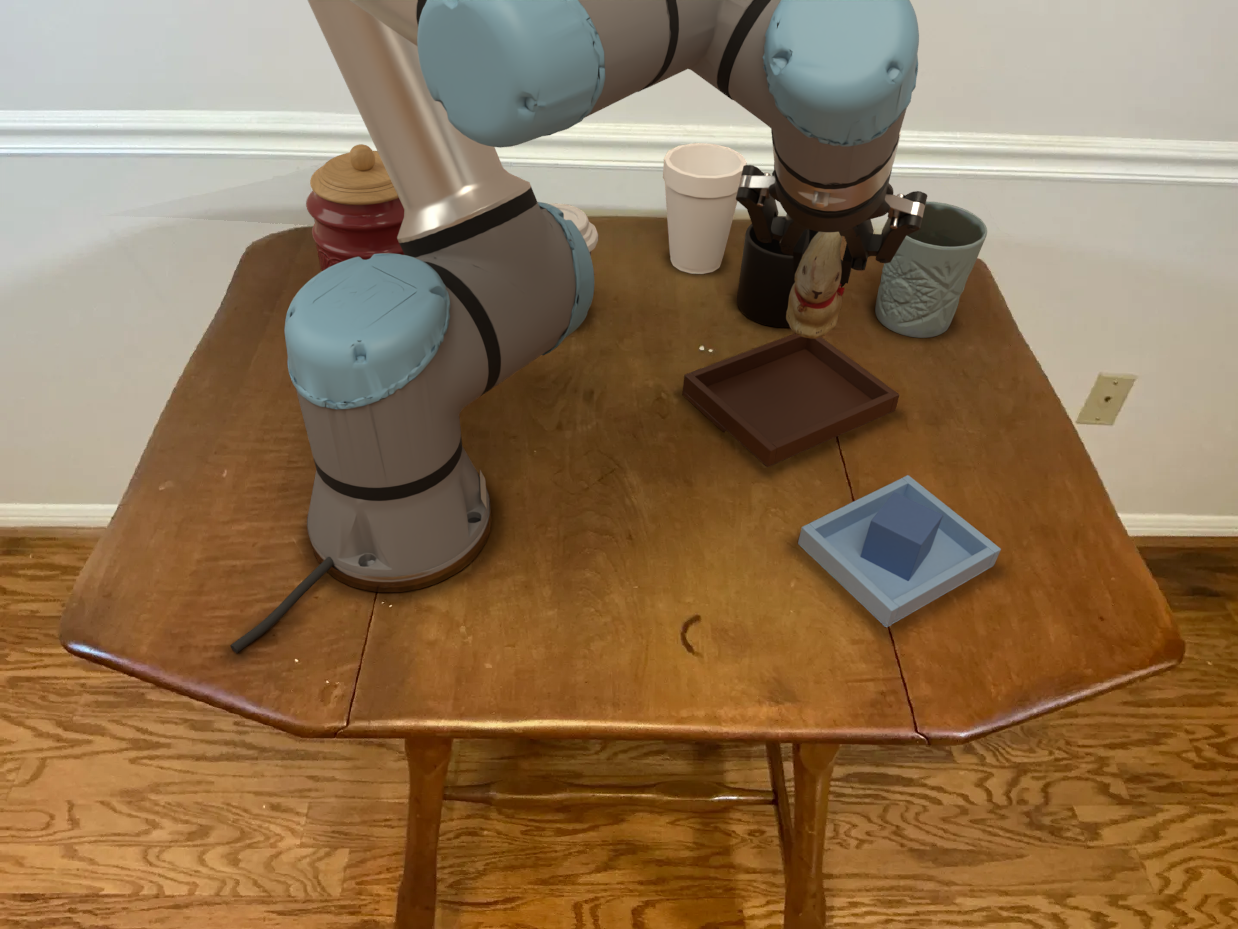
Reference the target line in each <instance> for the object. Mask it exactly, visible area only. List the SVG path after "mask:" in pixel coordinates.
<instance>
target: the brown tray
mask: <svg viewBox="0 0 1238 929" xmlns="http://www.w3.org/2000/svg"><path fill="white" fill-rule="evenodd" d="M681 395H682V396H683V397H684V398H685V399H686V400H687V401H688V402H690V404H691V405H693V406H694V407H695V408H696V409H697V410H698V411H699V412H701V414H703V415H704V417H706V418H707V419H708V420H709V421H710V422H711V423H713V425H715V426H716V427H717V428H718V429H719V430H721V432H723V433H726V432H728V433H729V435H730V436H732V437H733V438H734V439H735V440H736V441H738V443H739V444H741V445H742V446H743V447H744V448H745V449H746V450H747V451H748V452H750V453H751V454H752V455H753V456H754V457H755V458H756V459H757V460H758V461H760V462H761V463H762V464H763V465H764V466H765V467H766V468H770V467H772V466H774V465H776V464H779V463H780V462H782V461H786V460H787V459H789V458H792V457H794V456H797V455H799V454H801V453H803V452H805V451H808V450H810V449H812V448H814V447H818V445H821V444H823V443H826V442H828V441H830V440H832V439H835V438H837V437H840V436H841V435H844V434H846V433H848V432H851V431H853V430H855V429H858V428H860V427H863V426H864V425H866V424H868V423H870V422H873V421H875V420H878V419H880V418H883V417H884V416H886V415H889V414H891V413H893V412H895V411H896V408H897V405H898V402H899V399H900V393H899V392H898V391H896V390H894V389H893V388H892V387H891V386H889V385H888V384H886V383H885V382H884V381H882V380H880V379H879V378H878V377H877V376H875V375H874V374H872V373H871V372H869V371H868V370H867V369H865V368H864V367H863V366H862V365H861V364H859V363H857V362H856V361H854V360H853V359H852V358H850V356H848V355H846V354H845V353H844V352H842V351H840V349H838V348H837V347H835V346H834V345H833V344H831V343H830V342H829V341H827V340H825V339H824V337H819V338H816V339H811V338H805V337H802V336H799V335H797V334H796V333H792V334H789V335H787V336H784V337H782V338H779V339H776V340H773V341H771V342H769V343H768V342H767V343H766V344H763V345H760V346H758V347H755V348H752V349H749V350H746V351H744V352H741V353H739V354H735V355H733V356H730V357H728V358H725V359H722V360H720V361H717V362H714V363H712V364H709V365H706V366H704V367H701V368H698V369H696V370H693V371H691V372H688V373H684V374H683V383H682V394H681Z"/></svg>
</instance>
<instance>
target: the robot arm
mask: <svg viewBox="0 0 1238 929" xmlns="http://www.w3.org/2000/svg"><path fill="white" fill-rule="evenodd" d="M307 2H308V5H309V7H310V9H311V11H312V13H313V16H314V18H315V19H316V22H317V24H318V26H319V28H320V31H321V32H322V35H323V37H324V39H325V42H326V44H327V46H328V47H329V50H330V52H331V54H332V57H333V59H334V61H335V63H336V65H337V68H338V69H339V71H340V73H341V76H342V78H343V80H344V82H345V84H346V86H347V89H348V90H349V93H350V95H351V97H352V100H353V102H354V104H355V106H356V108H357V111H358V113H359V114H360V117H361V119H362V121H363V123H364V125H365V128H366V130H367V132H368V134H369V136H370V139H371V141H372V143H373V145H374V147H375V149H376V151H378V154H379V156H380V158H381V160H382V162H383V164H384V166H385V169H386V171H387V173H388V175H389V177H390V179H391V182H392V184H393V186H394V188H395V190H396V192H397V195H398V197H399V199H400V201H401V203H402V205H403V208H404V219H403V222H402V225H401V228H400V230H399V233H398V236H397V239H398V242H399V244H400V246H401V248H402V250H403V252H404V255H401V254H392V253H381V254H374V255H373V256H372V257H371V258H370V259H367V260H363V259H362V258H361V257H355V258H351V259H348V260H345V261H343V262H340V263H337V264H335V265H333V266H331V267H329V268H327V269H325V270H324V271H322V272H321V271H320V272H318V273H317V274H316V275H314V276H313V277H312V278H310V279H309V280H307V281H306V283H305V284H303V285H302V287H301V288H300V289H299V290H298V291H297V293H296V294H295V296H294V297H293V298H292V300H291V301H290V304H289V307H288V309H287V312H286V314H285V320H284V338H285V346H286V354H287V361H286V362H287V370H288V375H289V377H290V379H291V382H292V385H293V387H294V388H295V392H296V395H297V399H298V403H299V406H300V410H301V414H302V418H303V423H304V427H305V430H306V433H307V438H308V442H309V447H310V451H311V455H312V458H313V462H314V466H315V474H314V480H313V486H312V491H311V497H310V503H309V507H308V512H307V517H306V530H307V534H308V538H309V541H310V545H311V549H312V552H313V555H314V557H315V559H316V561H317V562H318V564H319V565H317V567H315V569H314V570H312V572H310V573H309V574H308V575H307V576H306V577H305V578H304V579H303V581H301V582H299V584H298V585H297V586H296V587H295V588H294V589H293V590H292V591H291V592H290V593H289V594H288V596H286V598H284V599H283V601H281V603H280V604H278V606H277V607H276V608H275V609H274V610H273V611H272V612H270V613H269V614H268V615H267V616H266V617H265V618H264V619H263V620H262V621H260V623H258V624H257V625H256V626H254V627H253V628H252V629H251V630H249V631H248V632H246V633H245V634H244V635H242V636H241V637H239V638H238V639H236V640H235V641H234V642H233V643H231V644H230V648H231V650H232V651H233V652H234V653H235V654H238V653H240V652H241V651H243V650H244V649H245V648H247V647H248V646H249V645H251V644H252V643H253V642H254V641H256V640H258V639H259V638H260V637H262V635H264V634H265V633H266V632H268V630H270V629H271V628H272V627H273V626H274V625H275V624H277V622H279V621H280V620H281V619H282V618H283V617H284V616H285V615H286V614H287V613H288V612H289V610H291V609H292V607H293V606H294V605H295V604H296V603H297V602H298V601H299V600H300V599H302V597H303V596H304V595H305V594H307V592H308V591H309V590H310V589H311V588H312V587H313V586H314V585H315V584H316V583H317V582H318V581H319V580H320V579H321V578H323V576H324V575H325V574H326V573H327V574H329V575H330V576H331V577H333V578H334V579H336V580H338V581H339V582H341V583H343V584H345V585H347V586H349V587H353V588H356V589H359V590H363V591H369V592H374V593H376V592H377V593H403V592H409V591H415V590H419V589H423V588H427V587H430V586H433V585H435V584H438V583H440V582H443V581H445V580H447V579H449V578H450V577H453V576H454V575H456V574H457V573H459V572H460V571H462V570H464V569H465V568H466V567H467V566H469V565H470V564H471V563H472V562H473V560H475V558H477V556H478V555H479V554H480V552H481V551H482V550H483V548H484V546H485V545H486V543H487V541H488V538H489V536H490V533H491V529H492V510H491V509H492V508H491V500H490V494H489V490H488V488H487V483H486V478H485V476H484V474H483V472H482V470H481V469H479V472H478V471H477V468H476V467H475V465H474V464H473V461H472V460H471V458H470V456H469V455H468V453H467V452H466V450H465V447H464V446H463V440H462V429H461V420H460V419H461V418H460V414H461V412H462V411H463V409H464V408H466V407H468V405H471V403H474V402H475V401H476V400H478V399H479V398H480V397H482V396H483V395H484V394H486V393H488V392H489V391H491V390H492V389H494V388H496V387H497V386H498V385H499V384H501V383H503V382H504V381H506V380H507V379H509V378H510V377H512V376H513V375H515V374H516V373H517V372H519V371H521V370H522V369H524V368H525V367H526V366H528V365H529V364H531V363H532V362H534V361H535V360H537V359H538V358H540V357H541V356H546V355H548V354H550V353H551V352H552V351H554V350H555V349H556V348H558V347H559V346H560V345H561V344H562V343H563V341H564V340H565V339H566V338H567V337H569V336H570V335H571V334H572V333H574V332H575V331H576V330H578V328H580V326H581V325H582V324H583V322H584V321H585V320H586V318H587V316H588V312H589V310H590V308H591V306H592V302H593V299H594V294H595V293H594V292H595V269H594V264H593V260H592V254H591V255H590V252H589V249H588V247H587V244H586V242H585V240H584V238H583V236H582V234H581V233H580V231H579V229H578V228H577V226H576V225H575V224H574V223H573V221H572V220H565V219H564V214H563V212H562V211H561V210H559V209H558V208H556V207H555V206H553V205H550V204H551V203H548V202H541V201H538V200H537V198H536V194H535V193H534V190H533V188H532V185H531V182H530V181H527V180H525V179H524V178H521V177H519V176H516V175H514V174H512V173H510V172H508V171H507V170H506V169H505V168H504V167H503V164H502V162H501V159H500V157H499V155H498V152H497V150H496V148H501V149H502V148H510V147H511V148H512V147H515V146H519V145H521V144H524V143H528V142H529V141H533V140H537V139H539V138H542V137H548V136H552V135H554V134H556V133H559V132H563V131H566V130H569V129H570V128H573V127H574V126H575V125H577V124H579V123H581V122H583V120H584V119H586V118H587V117H590V116H592V115H594V114H595V113H597V112H599V111H602V110H603V109H605V108H607V107H609V106H612V105H613V104H615V103H617V102H619V101H622V100H624V99H626V98H627V97H630V96H632V95H634V94H636V93H639V92H641V91H643V90H646V89H648V88H651V87H653V86H655V85H657V84H659V83H662V82H663V81H666V80H668V79H669V78H672V77H674V76H676V75H678V74H680V73H682V72H685V71H686V70H690V71H692V72H693V73H694V74H696V75H697V76H698V77H700V78H701V79H703V80H704V81H705V82H707V83H708V84H709V85H711V86H712V87H713V88H714V89H716V90H718V91H719V92H720V93H722V94H723V95H724V96H726V97H727V98H729V99H730V100H731V101H734V102H735V103H737V104H738V105H739V106H740V107H742V108H743V109H745V110H746V111H747V112H749V113H750V114H751V115H753V116H754V117H755V118H757V119H758V120H760V121H761V123H764V124H765V125H766V126H767V127H769V128H770V129H771V130H770V131H771V132H770V133H771V141H772V142H771V143H772V144H771V145H772V153H773V171H772V173H770V172H764V171H762V170H761V168H759V167H757V166H755V165H754V164H753V165H752V164H746V165H745V166H743V170H742V174H741V178H740V182H739V187H738V191H737V195H736V200H737V203H739V204H740V205H742V206H743V207H744V208H745V209H746V210H747V213H748V217H749V219H750V222H751V224H752V225H753V228H754V231H755V234H756V237H757V239H758V240H759V241H760V242H763V243H771V242H772V239H776V240H778V241H780V244H779V245H780V246H781V252H783V253H784V254H789V255H793V272H794V274H795V273H796V271H797V268H798V266H799V263H800V261H801V259H802V257H803V254H804V253H805V251H806V249H807V247H808V245H809V229H811V230H814V231H818V232H839V234H840V236H842V237H844V239H845V247H844V251H843V252H844V253H843V257H842V273H841V280H840V282H842V283H846V284H849V281H850V276H851V273H852V270H855V271H860V272H863V271H865V270H866V267H867V264H868V258H870V257H875V261H877V262H879V263H881V264H884V263H890V262H891V261H892V259H893V257H894V256H895V254H896V252H897V250H898V249H899V247H900V245H901V244H902V242H903V240H904V239H905V237H906V235H909V234H911V233H913V232H916V231H918V230H920V226H921V222H922V217H923V213H924V209H925V205H926V202H927V199H928V194H927V193H925V192H923V191H919V190H916V191H915V190H914V191H911V192H908V193H907V194H904V193H898V194H894V188H893V186H892V185H891V184H890V180H891V175H892V173H893V172H892V171H893V166H894V163H895V159H896V156H897V151H898V147H899V144H900V139H901V135H902V130H901V129H902V127H903V122H904V120H905V116H906V112H907V108H908V107H909V106H910V103H911V101H912V96H913V95H912V94H913V92H914V91H915V89H916V87H917V86H916V85H917V78H918V72H919V57H918V52H919V44H920V32H919V23H918V17H917V14H916V11H915V8H914V6H913V4H912V2H911V0H307ZM777 202H778V203H779V204H780V205H781V206H780V207H782V209H783V210H784V212H785V213H786V215H785V216H786V219H782V218H778V216H779V214H780V213H779V209H778V205H777ZM885 215H887V219H886V222H885V223H884V225H883V227H882V229H881V233H875V229H874V227H873V223H872V220H873V219H877V218H881V217H883V216H885Z"/></svg>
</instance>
